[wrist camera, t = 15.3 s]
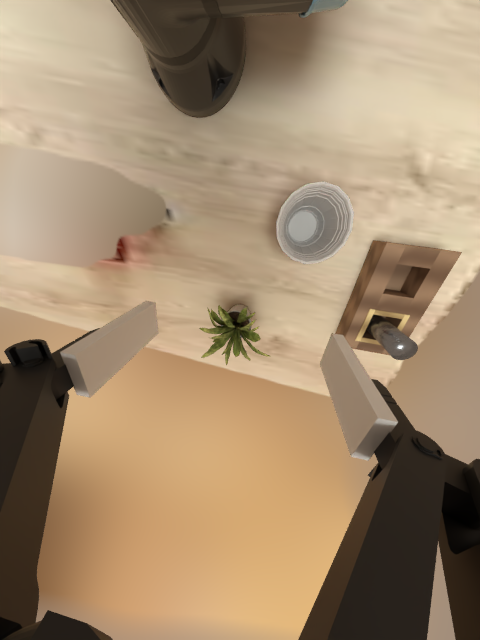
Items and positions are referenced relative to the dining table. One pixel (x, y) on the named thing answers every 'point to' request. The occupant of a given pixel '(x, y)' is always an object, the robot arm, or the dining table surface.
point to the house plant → (232, 331)
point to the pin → (391, 338)
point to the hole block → (394, 290)
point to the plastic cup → (314, 222)
